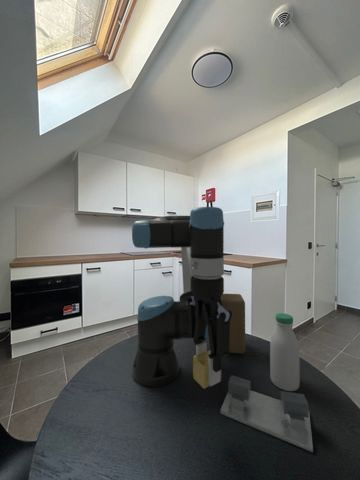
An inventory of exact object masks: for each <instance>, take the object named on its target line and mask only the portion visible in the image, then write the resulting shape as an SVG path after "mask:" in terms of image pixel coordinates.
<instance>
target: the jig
mask: <svg viewBox="0 0 360 480" xmlns="http://www.w3.org/2000/svg"><path fill="white" fill-rule="evenodd" d="M251 383H252V381H251V380H248V379H245V378H242V377H239V376H236V375H232V374H231V375H230V377H229V379H228V383H227V384H228V386H227V387H228V389H227V392H226V396H225V398H224V401H223V404H222V405H221V406H220V407H221V408H220V415H223V416H225V417H227V418H229V419H232V420H234V421H237V422H240V423H241V424H244V425H247V426H248V427H251V428H254V429H255V430H258V431H261V432H263V433H265V434H268V435H271V436H272V437H275V438H277V439H279V440H282V441H284V442H287V443H289V444H292V445H293V446H296V447H298V448H301V449H303V450H306V451H308V452H311V453H314V445H313V435H312V434H313V433H312V428H311V427H312V426H311V419H310V418H311V417H310V416H311V414H310V410H309V409H310V408H309V407H310V406H309V403H308V400H307V398H306V396H305V394H304V393H299V392H297V393H296V392H293V391H286V390H280V399H276V398H274V397H271V396H268V395H266V394H263V393H259V392H257V391H254V390H252V389H251V388H252V386H251V385H252V384H251Z"/></svg>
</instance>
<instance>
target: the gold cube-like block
mask: <svg viewBox="0 0 360 480" xmlns="http://www.w3.org/2000/svg"><path fill="white" fill-rule="evenodd" d="M209 354H211V350H209V349H208V350H207V352H204V353H201V354H199V355H193V357H192V360H193V361H192V377H193V379H194V381H196V382H197V384H199V386H200V387H201V388H202V389H204V390H205V389H206V388H208V387H211V386H210V385H209V376H208V355H209ZM221 381H222V369H221V370H220V382H221Z"/></svg>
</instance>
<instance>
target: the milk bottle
mask: <svg viewBox="0 0 360 480" xmlns="http://www.w3.org/2000/svg"><path fill="white" fill-rule="evenodd" d="M275 324H276V325H275V328H274V330H273V332H272V334H271V337H270V342H269V343H270V345H269V349H270V350H269V351H270V352H269V363H270V365H269V367H270V368H269V370H270V371H269V372H270V378H269V379H270V380H271V383H273V385H274V386H276V387H277V388H278V389H281V390H282V391H285V392H295V391H297V390H298V389H299V387H300V347H299V346H300V345H299V342H298V338H297V336H296V334H295V332H294V329H293V325H294V318H293V316H292V315H291V314H288V313H282V312H281V313H280V312H279V313H276V314H275Z"/></svg>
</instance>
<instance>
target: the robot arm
mask: <svg viewBox="0 0 360 480" xmlns="http://www.w3.org/2000/svg"><path fill="white" fill-rule="evenodd" d="M189 214H190V215H166V216H165V215H164V216H160V217H156V218H154V219H151V220H147V219H143V220H136V221H134V222H133V224H132V229H131V236H132V237H131V239H132V244H133V246H134V247H135V248H137V249H155V248H156V249H157V248H158V249H159V248H160V249H161V248H162V249H163V248H164V249H165V248H176V249H177V248H178V249H179V248H180V250H181V251H180V252H181V270H182V271H181V272H182V287H183V292H182V293H181V294H180V295H179V301H178V300H177V301H175V299H174V298H173V296H171V295H158V296H157V295H156V296H152V297H149V298H147V299H145V300H143V301H142V302H141V303H140V304H139V305H138V309H137V316H136V320H137V340H138V341H137V345H138V346H137V350H136V354H135V358H134V360H133V364H132V376H133V377H132V378H133V379H134V380H135V381H136V382H137V383H139V384H140V385H143V386H146V387H153V388H154V387H161V386H164V385H168V384H170V383H171V382H173V381H174V380H175V379H177V377H178V375H179V373H180V360H179V357H178V354H177V350H176V348H175V340H193V341H192V342H193V343H194V354H195V355H194V356H196V355H199V354H201V353H204V352H207V351H208V349H207V346H208V345H207V342H205V341H207V339H208V340H209V341H208V342H209V347H210V348H209V349H210V351H211V354H209V355H208V376H209V385H210V386H209V387H213V386H214V385H217V384H218V383H220V382H221V381H220V370H221V371H222V366H223V365H222V361H223V360H222V359H223V358H226V357H228V356H229V355H230V353H229V340H230V320H231V317H232V312H231V311H226V310H225V309H224V308H223V307H222V301H221V296H222V294H224V292H225V279H224V278H223V275H224V274H225V269H224V267H225V265H224V264H225V261H224V260H225V259H224V254H225V253H224V251H225V250H224V243H225V242H224V230H225V229H224V228H225V221H224V212H223V210H222V209H221V207H216V206H200V207H194V208H192V209H191V210H190V213H189Z"/></svg>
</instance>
